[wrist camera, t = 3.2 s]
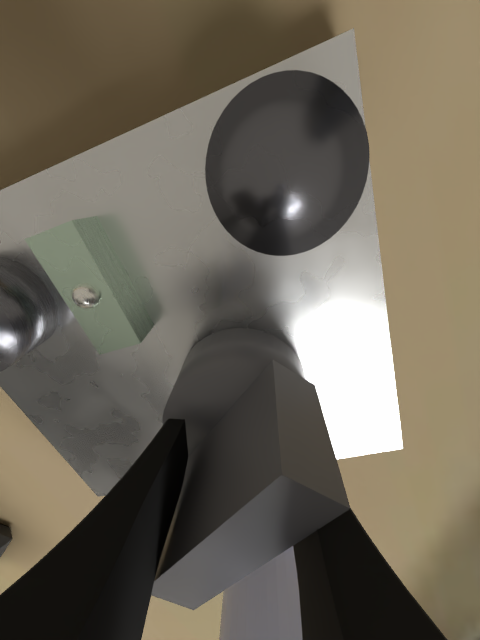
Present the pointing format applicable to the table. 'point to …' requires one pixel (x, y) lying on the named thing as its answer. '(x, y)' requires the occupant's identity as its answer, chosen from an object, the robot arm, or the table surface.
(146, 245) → the plate
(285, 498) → the knob
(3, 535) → the computer monitor
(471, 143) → the table surface
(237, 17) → the table surface
